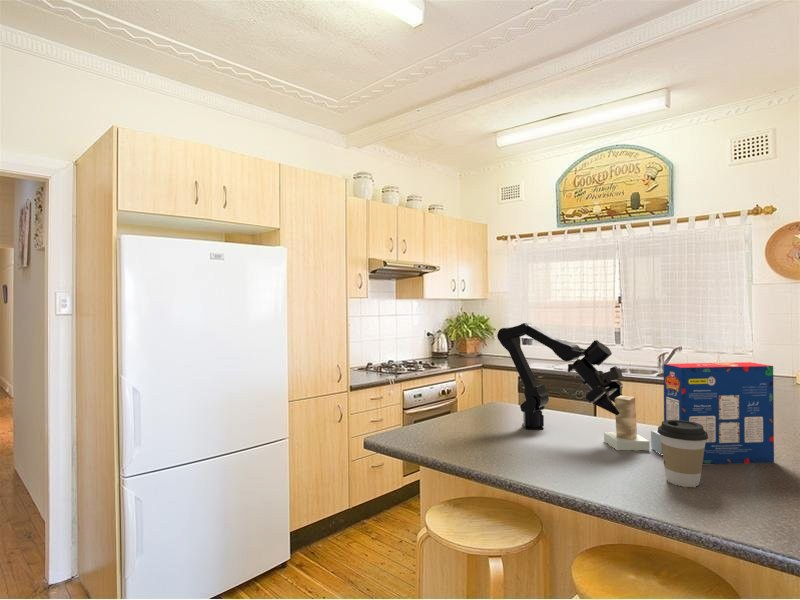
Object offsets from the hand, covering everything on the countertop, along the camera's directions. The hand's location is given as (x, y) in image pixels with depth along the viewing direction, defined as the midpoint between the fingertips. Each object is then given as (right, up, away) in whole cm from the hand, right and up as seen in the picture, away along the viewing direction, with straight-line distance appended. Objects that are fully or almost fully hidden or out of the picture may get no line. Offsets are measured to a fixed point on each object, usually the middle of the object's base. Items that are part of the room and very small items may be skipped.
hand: (623, 411), depth 151 cm
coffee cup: (0, -11, -31) cm, 33 cm away
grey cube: (+10, -11, -7) cm, 16 cm away
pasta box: (+21, -11, -14) cm, 28 cm away
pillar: (+1, -8, -1) cm, 8 cm away
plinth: (+1, -11, -1) cm, 11 cm away
